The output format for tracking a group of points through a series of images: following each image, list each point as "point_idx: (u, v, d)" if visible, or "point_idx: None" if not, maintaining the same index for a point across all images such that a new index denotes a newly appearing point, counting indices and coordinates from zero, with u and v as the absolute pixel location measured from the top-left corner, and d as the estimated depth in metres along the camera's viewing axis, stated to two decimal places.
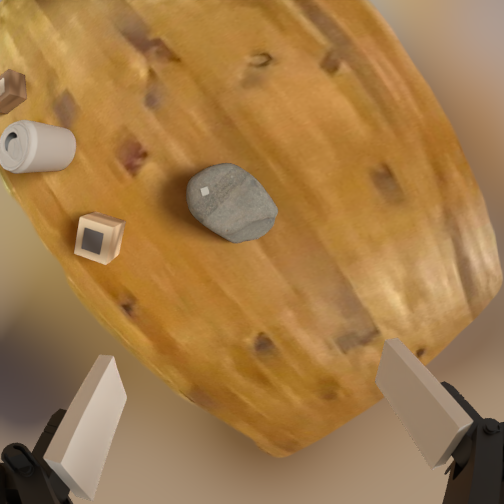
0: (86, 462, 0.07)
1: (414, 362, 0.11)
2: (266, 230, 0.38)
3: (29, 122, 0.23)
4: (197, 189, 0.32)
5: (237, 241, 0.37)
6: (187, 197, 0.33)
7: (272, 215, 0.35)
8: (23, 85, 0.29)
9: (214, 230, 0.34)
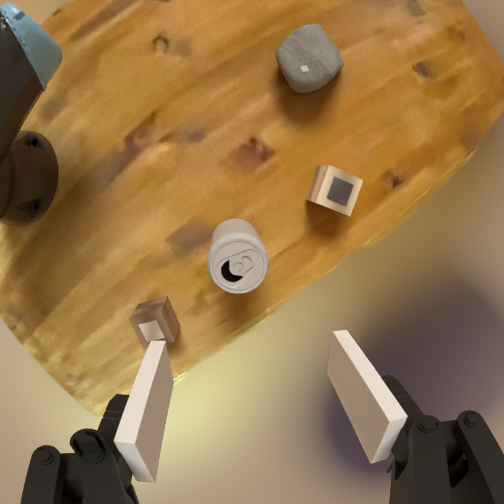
0: (151, 443, 0.08)
1: (357, 354, 0.12)
2: None
3: (212, 246, 0.29)
4: (303, 75, 0.30)
5: (342, 60, 0.33)
6: (309, 85, 0.31)
7: None
8: (150, 302, 0.41)
9: (337, 68, 0.30)
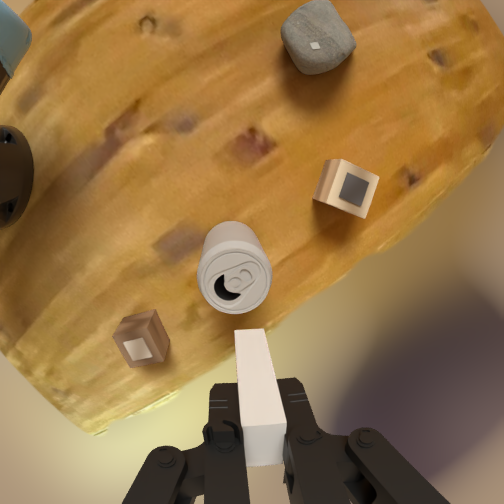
0: None
1: (262, 353, 0.12)
2: None
3: (203, 258, 0.24)
4: (313, 52, 0.24)
5: (355, 41, 0.27)
6: (320, 65, 0.25)
7: (331, 3, 0.24)
8: (137, 315, 0.36)
9: (351, 48, 0.25)
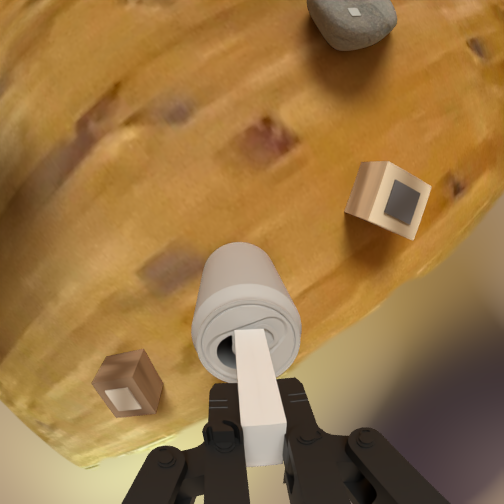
0: None
1: (262, 353, 0.12)
2: None
3: (201, 309, 0.16)
4: (353, 20, 0.16)
5: None
6: (361, 36, 0.17)
7: None
8: (121, 355, 0.27)
9: (396, 20, 0.17)
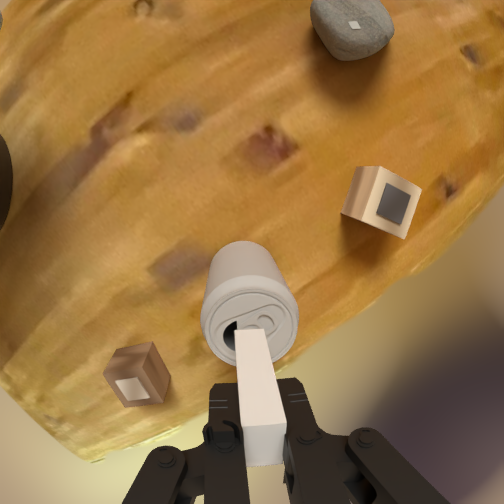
0: None
1: (262, 353, 0.12)
2: None
3: (209, 298, 0.18)
4: (353, 33, 0.18)
5: None
6: (361, 48, 0.19)
7: None
8: (131, 348, 0.29)
9: (393, 31, 0.19)
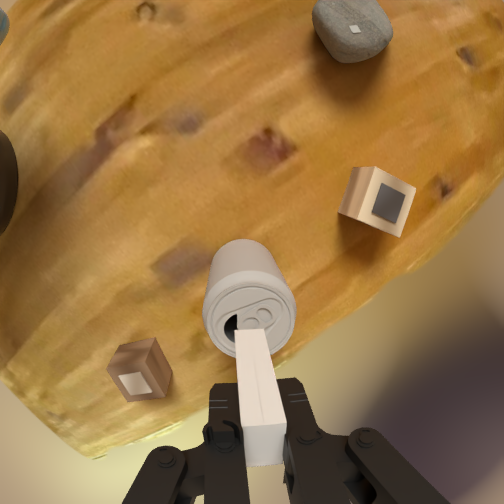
0: None
1: (262, 353, 0.12)
2: None
3: (210, 292, 0.19)
4: (354, 36, 0.19)
5: None
6: (361, 51, 0.20)
7: None
8: (134, 344, 0.30)
9: (392, 34, 0.20)
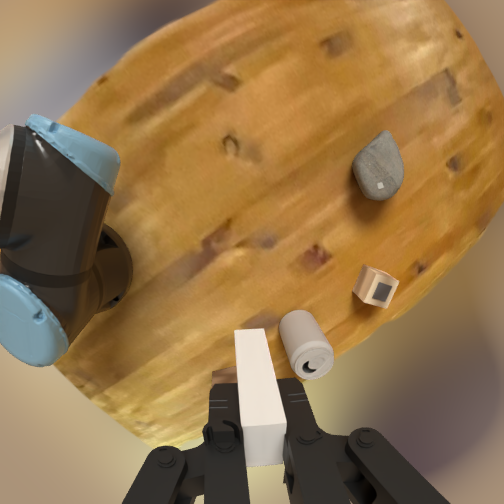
0: None
1: (262, 353, 0.12)
2: None
3: (296, 351, 0.38)
4: (379, 191, 0.38)
5: None
6: (381, 199, 0.39)
7: (391, 135, 0.38)
8: (224, 370, 0.50)
9: (402, 180, 0.39)
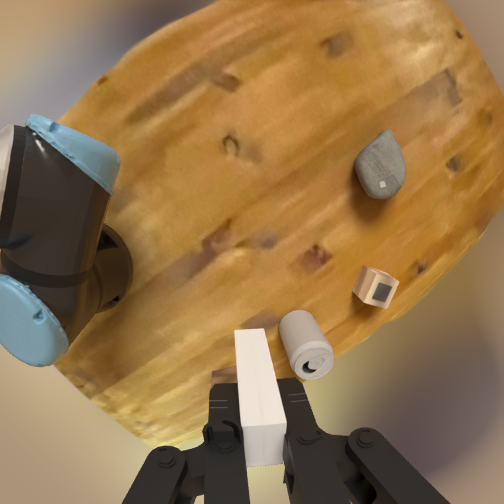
0: None
1: (262, 353, 0.12)
2: (394, 138, 0.41)
3: (296, 351, 0.38)
4: (381, 190, 0.38)
5: (404, 161, 0.41)
6: (384, 198, 0.39)
7: (392, 134, 0.38)
8: (224, 370, 0.50)
9: (404, 178, 0.39)
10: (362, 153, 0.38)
